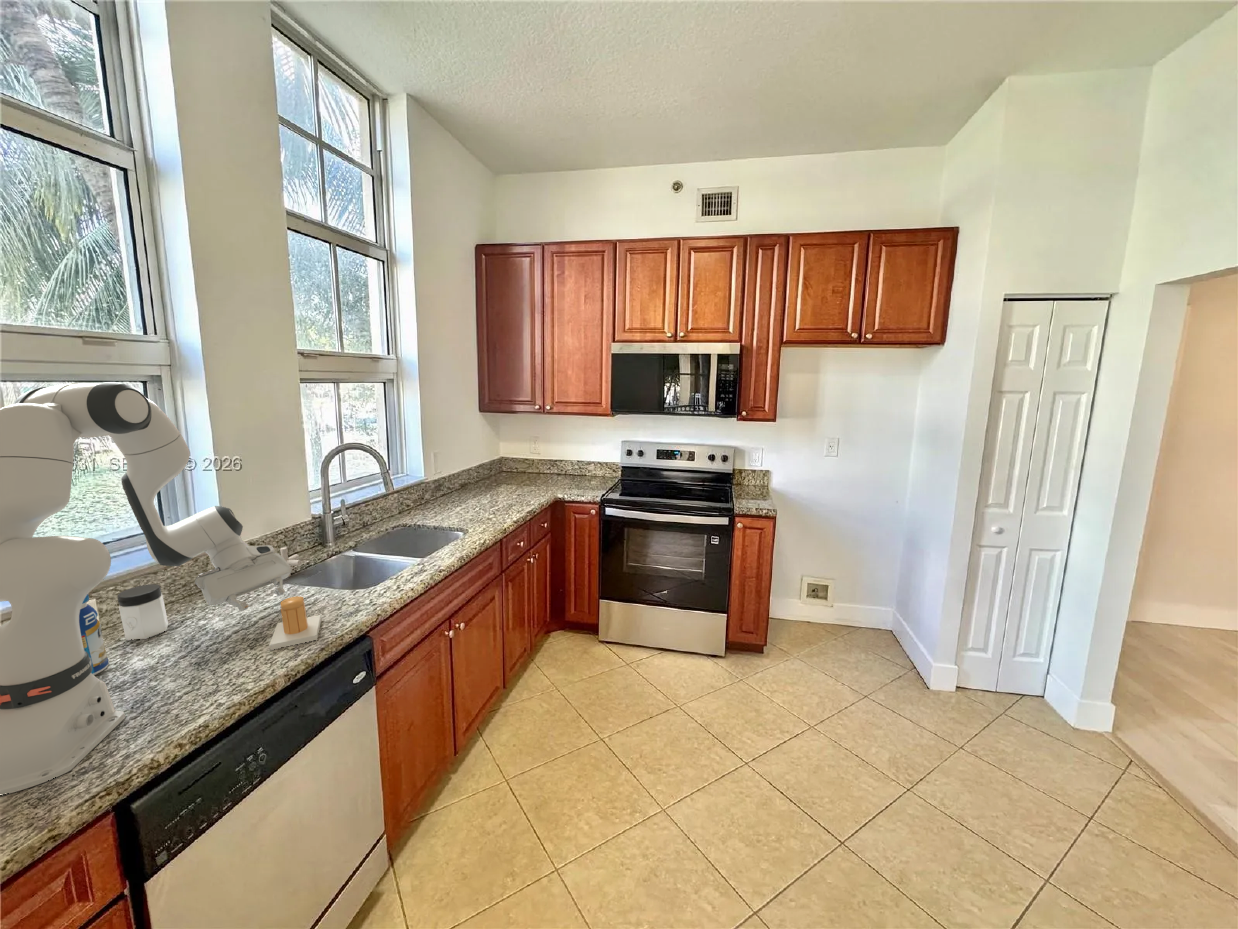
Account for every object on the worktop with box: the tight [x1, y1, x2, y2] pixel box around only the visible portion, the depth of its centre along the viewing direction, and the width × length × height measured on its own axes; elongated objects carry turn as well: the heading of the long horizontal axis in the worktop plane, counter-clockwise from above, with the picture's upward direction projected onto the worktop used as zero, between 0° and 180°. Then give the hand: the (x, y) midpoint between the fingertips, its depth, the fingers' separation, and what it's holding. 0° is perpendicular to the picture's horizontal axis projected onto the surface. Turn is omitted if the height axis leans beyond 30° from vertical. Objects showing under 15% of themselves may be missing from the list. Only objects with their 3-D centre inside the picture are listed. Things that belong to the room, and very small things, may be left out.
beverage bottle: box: [79, 593, 110, 676], centre depth 111 cm, size 8×8×20 cm
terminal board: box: [268, 614, 322, 651], centre depth 128 cm, size 12×10×6 cm
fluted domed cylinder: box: [280, 595, 308, 634], centre depth 128 cm, size 5×5×8 cm
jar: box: [116, 583, 169, 641], centre depth 129 cm, size 9×8×12 cm
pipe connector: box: [279, 546, 302, 578], centre depth 165 cm, size 10×10×10 cm
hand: (263, 601), depth 132 cm, fingers open, 8 cm apart
